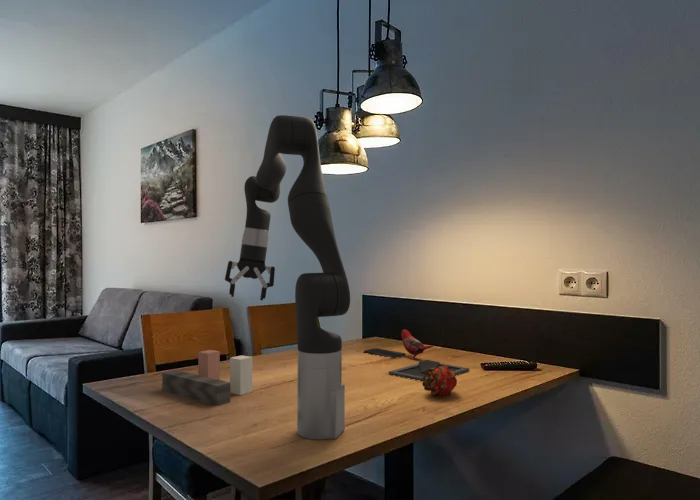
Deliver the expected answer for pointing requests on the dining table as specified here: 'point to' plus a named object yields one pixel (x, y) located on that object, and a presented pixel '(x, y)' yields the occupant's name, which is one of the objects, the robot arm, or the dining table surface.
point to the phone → (384, 353)
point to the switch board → (196, 387)
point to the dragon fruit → (439, 381)
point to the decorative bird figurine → (412, 344)
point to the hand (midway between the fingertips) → (247, 298)
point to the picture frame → (419, 369)
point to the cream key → (240, 375)
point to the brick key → (209, 364)
